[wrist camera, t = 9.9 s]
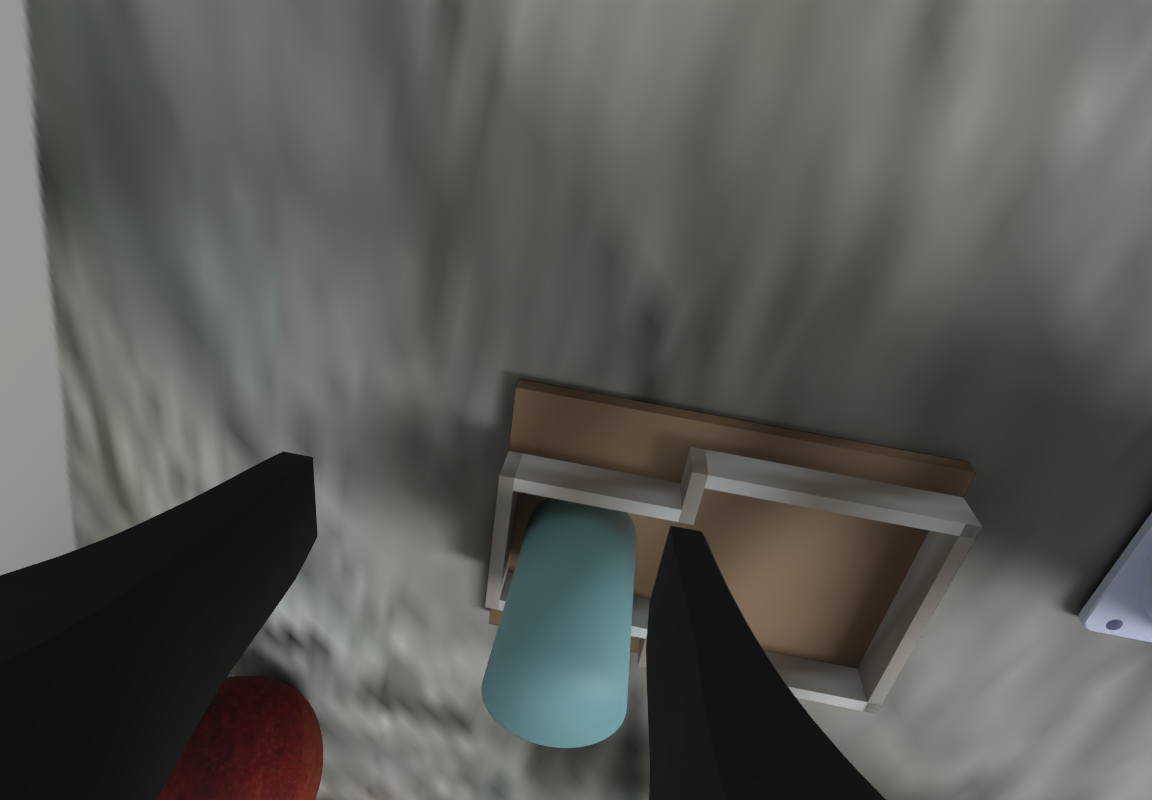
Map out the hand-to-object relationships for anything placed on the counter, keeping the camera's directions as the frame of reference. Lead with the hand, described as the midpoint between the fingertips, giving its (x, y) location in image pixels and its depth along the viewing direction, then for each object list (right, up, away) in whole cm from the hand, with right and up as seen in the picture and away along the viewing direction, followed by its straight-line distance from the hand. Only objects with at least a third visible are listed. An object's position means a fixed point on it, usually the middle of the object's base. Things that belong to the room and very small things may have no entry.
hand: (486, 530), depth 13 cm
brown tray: (+7, -3, +11) cm, 13 cm away
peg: (+2, -2, +11) cm, 11 cm away
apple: (-13, -12, +19) cm, 26 cm away
